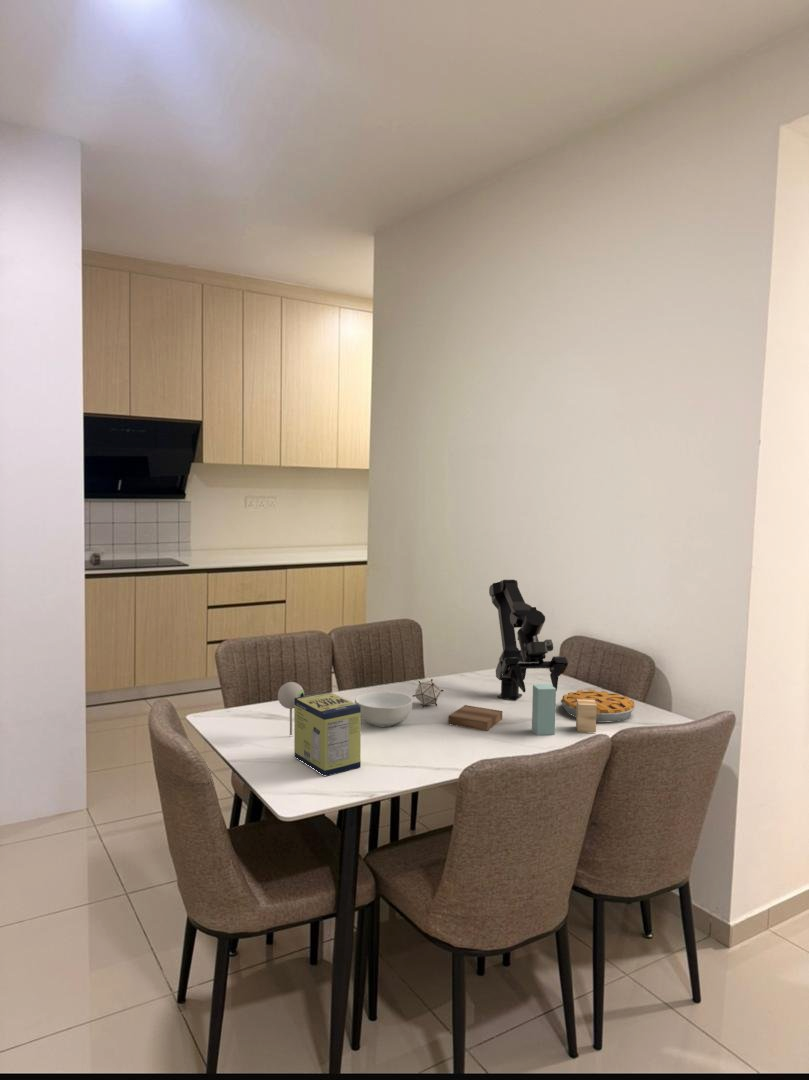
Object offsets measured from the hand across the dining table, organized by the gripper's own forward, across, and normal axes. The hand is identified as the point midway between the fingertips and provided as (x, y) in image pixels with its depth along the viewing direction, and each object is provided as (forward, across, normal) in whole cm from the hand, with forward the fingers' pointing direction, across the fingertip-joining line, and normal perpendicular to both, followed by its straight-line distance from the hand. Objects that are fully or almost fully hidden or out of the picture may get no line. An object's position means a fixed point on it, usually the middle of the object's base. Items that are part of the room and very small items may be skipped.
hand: (540, 691), depth 215 cm
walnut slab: (+3, -17, +13) cm, 22 cm away
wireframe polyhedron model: (-10, -28, +25) cm, 39 cm away
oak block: (+10, +13, +6) cm, 17 cm away
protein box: (+22, -61, -6) cm, 65 cm away
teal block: (+10, 0, +5) cm, 11 cm away
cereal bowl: (+1, -44, +14) cm, 46 cm away
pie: (-1, +22, +17) cm, 28 cm away
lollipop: (+8, -70, +8) cm, 71 cm away
